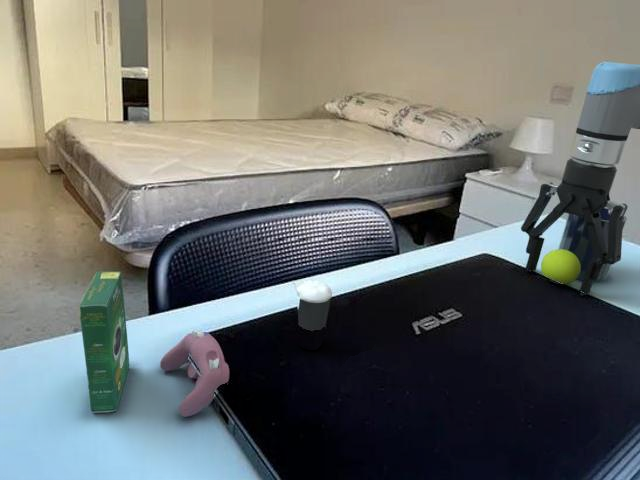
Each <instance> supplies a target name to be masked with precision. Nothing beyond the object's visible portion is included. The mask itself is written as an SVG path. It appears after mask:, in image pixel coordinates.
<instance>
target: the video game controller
mask: <svg viewBox="0 0 640 480" xmlns="http://www.w3.org/2000/svg"><path fill="white" fill-rule="evenodd" d="M189 353H191V355H192V358H193V360H194V362H195V363H196V365H197V366H198V368H199V370H200V375H201V377H200V376H197V373H196V370H195V369H194V367H193V366H192V365H191V363H190V361H188V354H189ZM159 363H160V365H159V367H160V369H161V370H162V371H164V372H171V371H174V370H177V369H178V368H180V367H182V366H184V365H186V364H187V363H188V366H187V376H188V378H190V379H196V381H195V386H194V388H193V389H192V390H191V391H190V392H189V393H188V394H187V395H186V396H185V397H184V398H183V399H182V401H181V403H180V404H179V406H178V414H179V415H180V416H182V417H184V418H187V417H191V416H194V415H197V414H199V412H201V411H203V410H205V408H207V407H208V406H209V405H210V404H211V403H212V402H213V401H214V400H215V398H214V392H215V390H216V389H217V388H218V387H219V386H220V385H222V384H225V383H227V382H228V383H229V380H230V368H229V367H230V366H229V364H228V363H227V362H226V361H225V357H224V354H223V350H222V347H221V346H220V344H219V342H218V341H217V340H216V339H215V337H214V336H212V335H211V334H210V333H208V332H206V331H199V330H198V331H197V332H196V331H194V330H193V331H192V332H191V333H187V334H186V335H185V336H184V337H183V338H182V339H181V340H180V341H179V342H178V343H177V344H176V345H174V346H173V347H172V348H171V349H169V350H168V351H167V352H166V353H165V354H164V355H163V357H162V358H161V360H160V362H159ZM228 383H227V384H228ZM213 399H214V400H213Z"/></svg>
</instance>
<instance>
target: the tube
mask: <svg viewBox="0 0 640 480" xmlns="http://www.w3.org/2000/svg"><path fill="white" fill-rule="evenodd" d="M600 215H601V225H602V230H603V234H604V239H605V243H606V248H607V252H608V228H609V218H610V215H609V214H608V208H607V207H605V208H603V209H602V210H600ZM627 221H628V218H627V216H626V215H624V217H623V227H622V234H623V233H624V231H625V227H626V224H627ZM561 234H562V235H561V238H560V241H559V244H558V248H557V249H563V250H567V251H570V252H572V253H573V254H574V255H575V256H576V257H577V258H578V260H579V262H580V273H579V275H578V277H577V278H576V279H575V280H579V281H583V279H584V276H585V273H586V270H587V267H588V264H589V261H591V260H593V259H594V254H593V250H592V245H591V241H590V236H589V232H588V227H587V225H586V224H585V220H584V218H580V217H578V216H576V215H575V214H568V213H567V217H566V221H565V224H564V228H563V231H562V233H561ZM611 267H612V265H611V264H606V265H605V267H604V270H603V273H602V276H601V278H600V279H598V280H596V281H595V280H594V281H593V283H600V282H604V281H606V280H607V278H608V276H609V273H610V270H611Z"/></svg>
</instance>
